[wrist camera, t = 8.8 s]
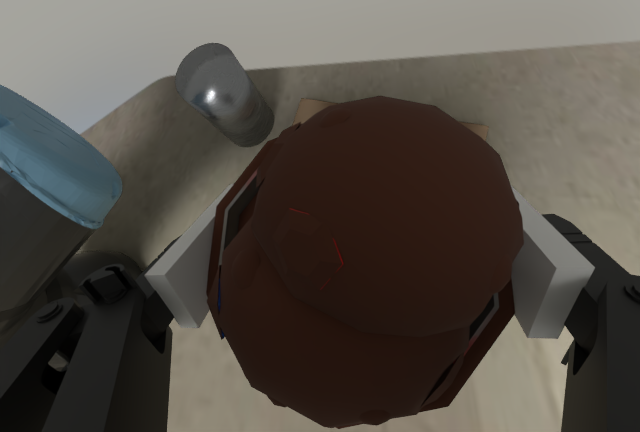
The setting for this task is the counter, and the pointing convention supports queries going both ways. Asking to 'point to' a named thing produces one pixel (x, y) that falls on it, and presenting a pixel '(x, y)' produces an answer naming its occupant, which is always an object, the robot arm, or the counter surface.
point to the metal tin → (224, 94)
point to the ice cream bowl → (365, 262)
